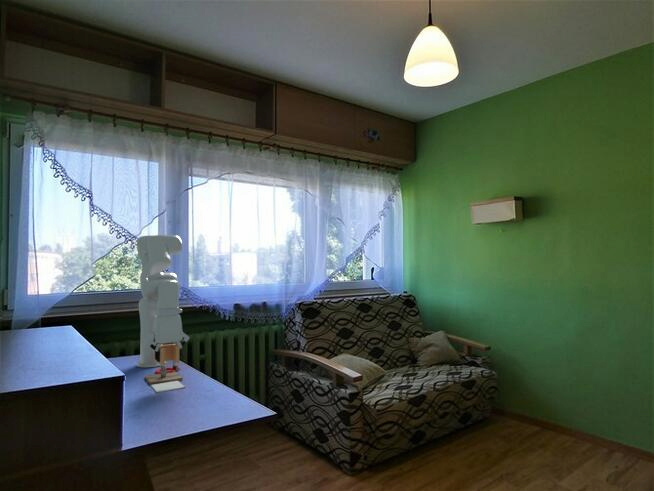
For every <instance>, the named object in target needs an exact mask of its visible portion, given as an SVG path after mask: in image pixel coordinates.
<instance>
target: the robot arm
mask: <svg viewBox="0 0 654 491" xmlns="http://www.w3.org/2000/svg"><path fill="white" fill-rule="evenodd" d="M136 251H137V253H138V257H139V259H140V262H141V273H140V277H139V284H140V292H141V296H142V297H141V299H140V300H139V302H138V312H139V321H140V345H139V346H140V353H139V354H140V355H139V356H140V357H139V358H140V359H139V360H140V361H138V362H136V367H138V368H147V369H148V368H156V367H161V365H160V364H159V363H158V362H160V351H159V348H160V346H161V345H166V344H173V343H174V342H175V344H176V345H178V346H179V360H180V359H181V357H182V349H183V347H184V346H185V345H186V343H187V342H188V341H189V340H190V338H191V337H190V336H189V335H188V334H186V333H185V332H184V331H183V322H182V317H181V313H183V308H180V304H179V303H180V302H179V301H180V300H179V298H180V296H179V294H180V290H181V289H180V288H181V287H180V283H179V279H178V275H177V274H176V273H174V272H165V271H167V269H169V268H170V266H171V265H172V259H171V255H179V254H181V253H182V252H183V241H182V239H181V237H180V236H179V235H175V234H174V235H167V234H163V235H162V234H157V235H143V236H142V235H141V236H139V237H138V238H137V241H136ZM166 363H167V361H165V364H166Z"/></svg>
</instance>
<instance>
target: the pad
mask: <svg viewBox="0 0 654 491" xmlns="http://www.w3.org/2000/svg"><path fill="white" fill-rule="evenodd" d="M150 387H151V388H152V389H153V390H154V391H155V393H164V392H168V391H169V392H170V391H174V390H179V389H180V390H181V389H185V388H186V386H185V385H184V384H183V383H182V382H180V381H173V382H167V383H160V384H154V385H150Z"/></svg>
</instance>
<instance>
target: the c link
mask: <svg viewBox="0 0 654 491" xmlns="http://www.w3.org/2000/svg"><path fill="white" fill-rule="evenodd" d="M159 351H160V362H158V363H159V364H160V365H166V363H165V361H166V362H170V361H172V362H173V361H174V362H175V363H177V364H178V363H180V359H179V346H178V345H176V343H175V344H173V343H167V344H163V345H161V346H160V348H159Z"/></svg>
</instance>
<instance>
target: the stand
mask: <svg viewBox="0 0 654 491" xmlns="http://www.w3.org/2000/svg"><path fill="white" fill-rule="evenodd" d="M166 368H167V365H166V364H165V365H161V366H160V369H161V374H157V373H154V374H147V375H144V380H146V382H147V383H148V384H149V386H151V385H154V384H160V383H167V382H173V381H179V382H180V381H183V380H184V379H183V377H182V376H181V375H180V374H179V373H178V372H177V371H176V372H175V371H174V372H167V373H166V371H167V370H166Z"/></svg>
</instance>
